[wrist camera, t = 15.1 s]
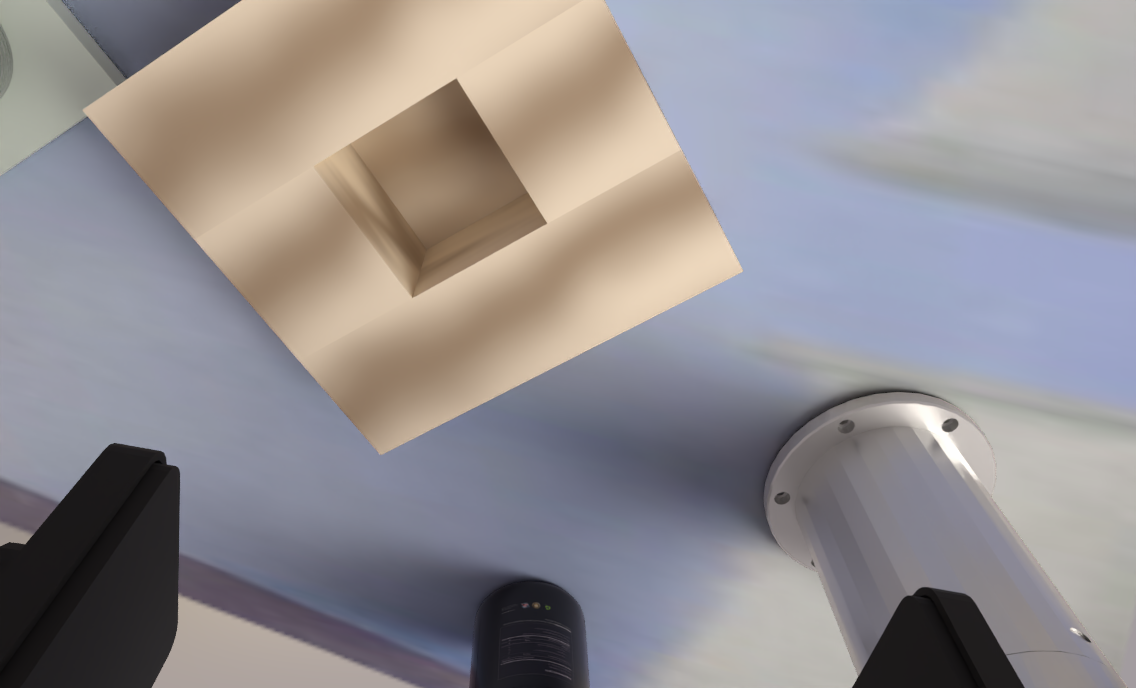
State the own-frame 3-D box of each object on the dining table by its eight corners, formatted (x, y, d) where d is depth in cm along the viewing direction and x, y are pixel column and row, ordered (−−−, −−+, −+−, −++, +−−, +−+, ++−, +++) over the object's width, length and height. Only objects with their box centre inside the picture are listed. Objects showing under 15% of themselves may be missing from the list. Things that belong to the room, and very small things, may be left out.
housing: (716, 217, 39) (743, 271, 34) (399, 384, 43) (380, 455, 38) (514, -176, 31) (508, -184, 26) (150, 74, 35) (82, 110, 30)
